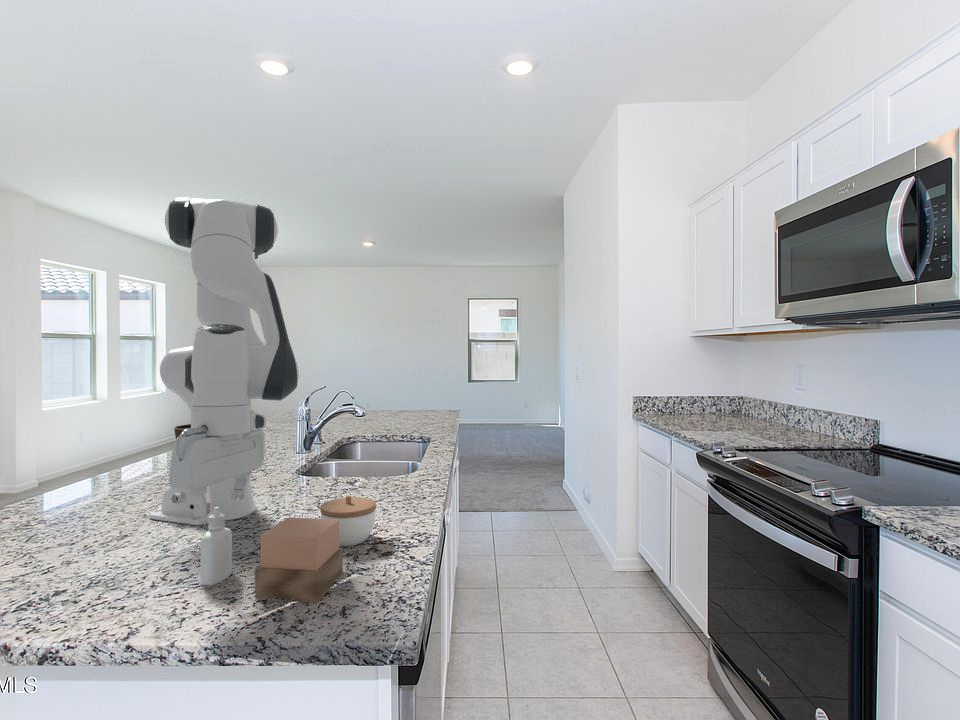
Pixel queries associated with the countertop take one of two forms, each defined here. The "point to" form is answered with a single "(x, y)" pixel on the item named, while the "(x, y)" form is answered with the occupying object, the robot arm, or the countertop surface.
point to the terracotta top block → (300, 543)
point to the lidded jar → (351, 518)
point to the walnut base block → (298, 581)
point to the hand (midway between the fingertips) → (221, 507)
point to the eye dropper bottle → (216, 551)
